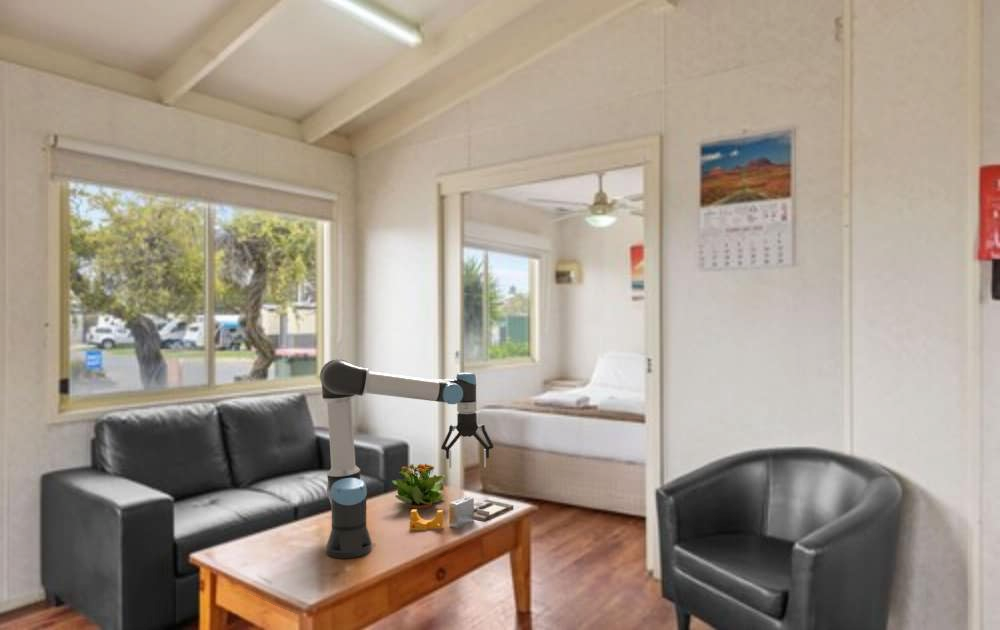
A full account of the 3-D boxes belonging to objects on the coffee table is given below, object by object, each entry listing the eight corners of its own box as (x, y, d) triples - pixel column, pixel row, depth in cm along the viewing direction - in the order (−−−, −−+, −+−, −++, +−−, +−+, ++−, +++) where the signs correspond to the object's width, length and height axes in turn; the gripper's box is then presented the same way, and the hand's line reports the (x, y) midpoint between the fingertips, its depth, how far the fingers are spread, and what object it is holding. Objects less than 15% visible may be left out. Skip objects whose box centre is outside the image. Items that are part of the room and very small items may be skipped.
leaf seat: (488, 515, 242) (488, 511, 242) (476, 512, 246) (476, 509, 246) (507, 507, 252) (507, 503, 253) (496, 504, 256) (496, 501, 256)
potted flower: (452, 512, 250) (452, 469, 250) (394, 517, 244) (394, 474, 244) (442, 495, 274) (441, 456, 274) (388, 500, 268) (388, 460, 268)
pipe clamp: (409, 530, 230) (409, 513, 230) (412, 526, 234) (412, 509, 234) (441, 530, 229) (440, 513, 229) (443, 527, 233) (443, 510, 233)
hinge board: (484, 521, 239) (484, 515, 239) (456, 514, 247) (456, 509, 247) (513, 508, 255) (513, 502, 255) (486, 502, 263) (486, 497, 263)
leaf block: (457, 528, 231) (457, 504, 231) (449, 526, 234) (449, 502, 234) (473, 521, 239) (473, 498, 239) (465, 519, 242) (465, 496, 242)
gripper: (434, 414, 234) (434, 469, 234) (499, 413, 235) (499, 468, 235) (435, 411, 242) (436, 465, 242) (498, 410, 242) (499, 463, 242)
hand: (467, 467), depth 238 cm, fingers open, 13 cm apart
